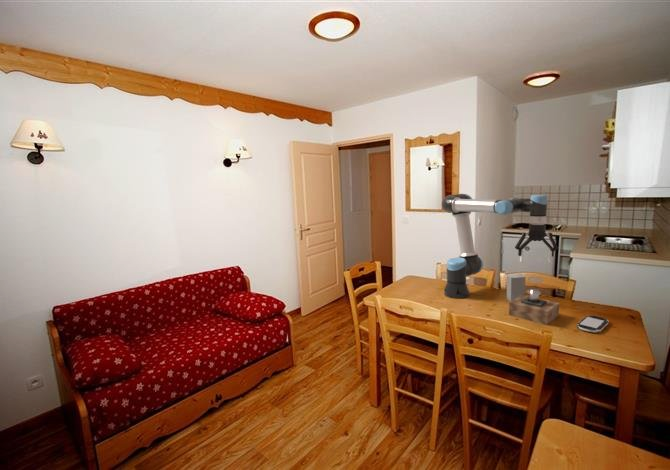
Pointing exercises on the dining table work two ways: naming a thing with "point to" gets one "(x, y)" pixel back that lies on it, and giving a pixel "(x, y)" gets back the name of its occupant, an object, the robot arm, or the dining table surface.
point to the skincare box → (515, 286)
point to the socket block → (534, 310)
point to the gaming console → (592, 324)
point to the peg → (534, 295)
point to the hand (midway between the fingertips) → (535, 262)
